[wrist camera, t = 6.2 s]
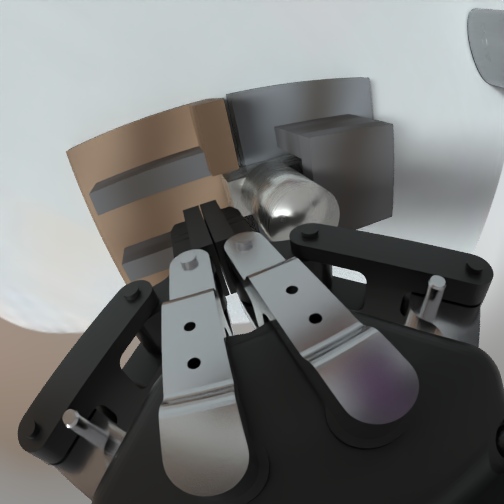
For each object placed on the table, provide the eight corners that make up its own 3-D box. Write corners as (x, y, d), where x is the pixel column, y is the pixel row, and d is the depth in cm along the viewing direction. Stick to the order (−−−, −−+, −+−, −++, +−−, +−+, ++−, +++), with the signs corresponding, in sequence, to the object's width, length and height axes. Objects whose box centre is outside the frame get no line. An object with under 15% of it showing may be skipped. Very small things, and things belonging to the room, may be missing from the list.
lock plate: (359, 77, 15) (415, 81, 11) (367, 208, 21) (410, 239, 17) (71, 148, 12) (37, 171, 8) (133, 287, 18) (132, 342, 14)
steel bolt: (346, 134, 16) (416, 158, 11) (349, 178, 17) (412, 215, 13) (218, 164, 14) (250, 203, 10) (230, 213, 16) (265, 270, 11)
